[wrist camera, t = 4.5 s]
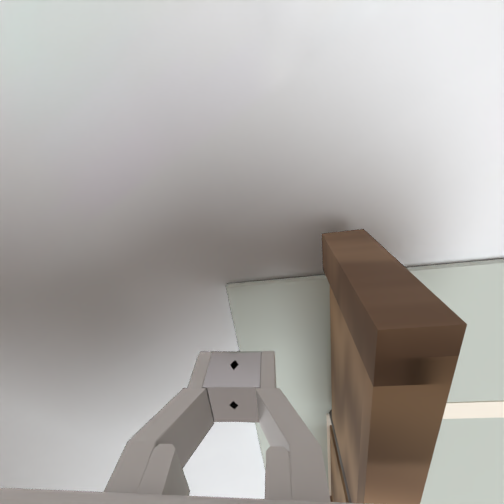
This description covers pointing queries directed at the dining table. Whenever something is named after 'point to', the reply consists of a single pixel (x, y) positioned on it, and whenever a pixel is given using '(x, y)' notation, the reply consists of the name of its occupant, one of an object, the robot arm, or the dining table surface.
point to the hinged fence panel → (386, 368)
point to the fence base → (337, 470)
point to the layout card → (462, 388)
